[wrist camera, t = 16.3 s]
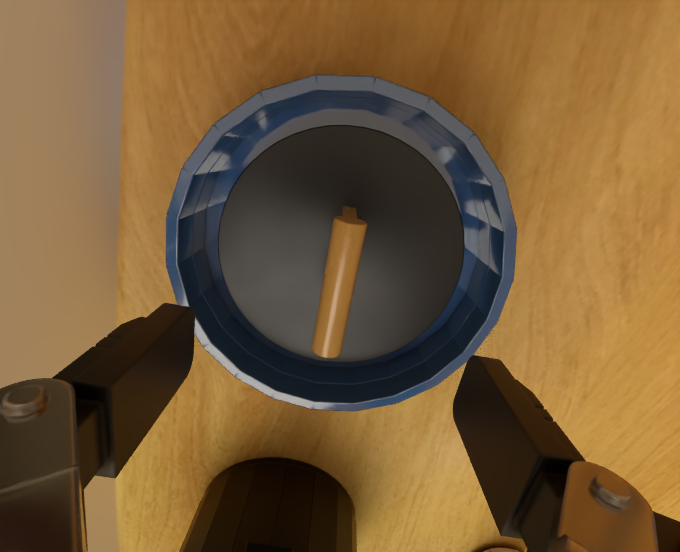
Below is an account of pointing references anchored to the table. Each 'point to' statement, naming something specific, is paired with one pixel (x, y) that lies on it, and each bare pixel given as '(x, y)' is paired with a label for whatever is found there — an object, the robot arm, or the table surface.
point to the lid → (341, 243)
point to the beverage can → (500, 550)
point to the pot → (273, 511)
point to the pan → (357, 110)
